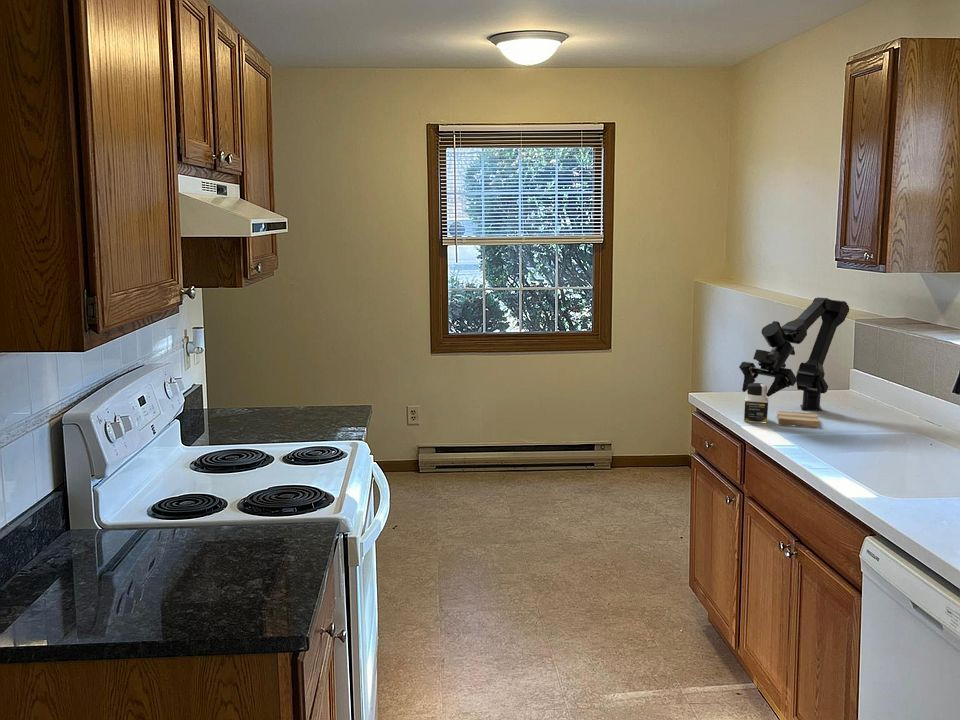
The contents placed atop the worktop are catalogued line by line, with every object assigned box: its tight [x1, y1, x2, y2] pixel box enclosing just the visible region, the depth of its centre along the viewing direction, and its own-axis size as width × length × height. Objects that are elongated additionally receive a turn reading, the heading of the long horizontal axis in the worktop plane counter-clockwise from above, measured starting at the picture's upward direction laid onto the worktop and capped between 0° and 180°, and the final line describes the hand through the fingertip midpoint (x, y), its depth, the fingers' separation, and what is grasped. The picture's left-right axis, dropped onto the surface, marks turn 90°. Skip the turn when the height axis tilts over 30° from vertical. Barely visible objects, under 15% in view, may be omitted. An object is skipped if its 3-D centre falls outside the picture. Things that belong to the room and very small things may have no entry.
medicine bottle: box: [743, 382, 769, 424], centre depth 307 cm, size 7×7×12 cm
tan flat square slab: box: [776, 410, 820, 428], centre depth 306 cm, size 12×12×2 cm
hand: (755, 393), depth 306 cm, fingers open, 9 cm apart
